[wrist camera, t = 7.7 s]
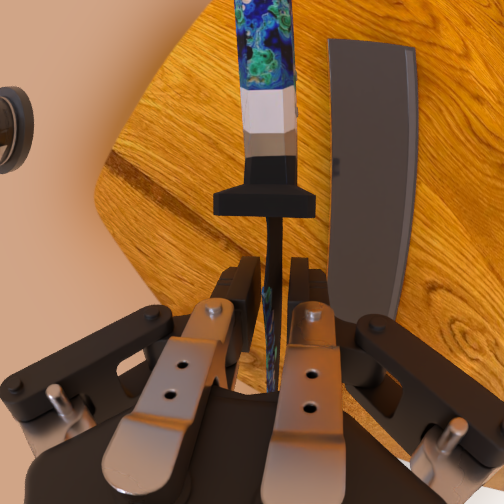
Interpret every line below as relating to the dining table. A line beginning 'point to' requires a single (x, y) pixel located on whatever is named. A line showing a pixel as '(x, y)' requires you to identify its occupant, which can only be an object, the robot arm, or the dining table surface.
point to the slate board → (370, 174)
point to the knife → (268, 147)
